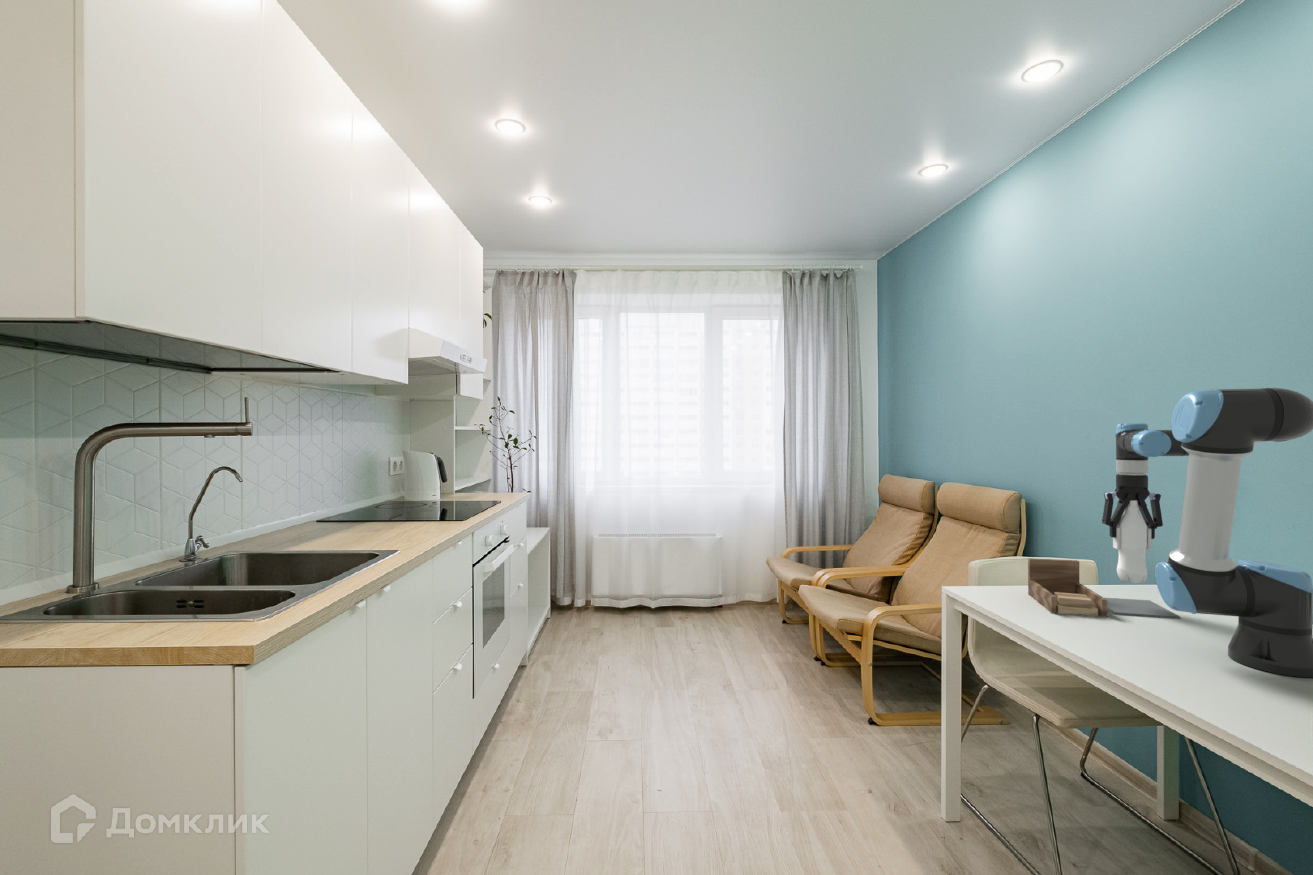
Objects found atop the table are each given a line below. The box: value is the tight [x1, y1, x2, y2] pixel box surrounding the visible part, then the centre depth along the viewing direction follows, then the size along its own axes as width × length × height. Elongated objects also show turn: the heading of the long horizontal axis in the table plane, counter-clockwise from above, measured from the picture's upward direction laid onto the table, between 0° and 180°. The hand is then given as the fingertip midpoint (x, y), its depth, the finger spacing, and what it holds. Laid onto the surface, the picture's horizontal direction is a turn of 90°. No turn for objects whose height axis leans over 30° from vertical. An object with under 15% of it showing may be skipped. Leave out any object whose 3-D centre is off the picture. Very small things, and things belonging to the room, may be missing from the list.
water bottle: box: [1116, 500, 1148, 585], centre depth 172 cm, size 7×7×25 cm
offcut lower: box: [1056, 603, 1099, 617], centre depth 171 cm, size 7×10×2 cm
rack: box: [1027, 557, 1108, 617], centre depth 176 cm, size 20×14×12 cm
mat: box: [1104, 597, 1181, 620], centre depth 172 cm, size 16×16×1 cm
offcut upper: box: [1054, 592, 1092, 609], centre depth 171 cm, size 6×8×2 cm
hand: (1131, 548), depth 172 cm, fingers closed on water bottle, 7 cm apart
